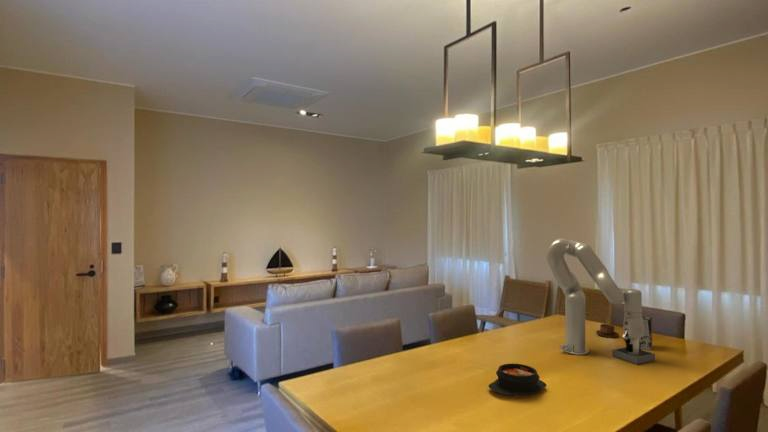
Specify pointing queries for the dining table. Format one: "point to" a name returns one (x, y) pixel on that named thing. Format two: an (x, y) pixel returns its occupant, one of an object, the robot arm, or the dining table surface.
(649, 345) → the coffee box
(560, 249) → the robot arm
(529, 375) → the casserole
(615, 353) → the bin
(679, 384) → the dining table surface
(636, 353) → the canister
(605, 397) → the dining table surface
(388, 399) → the dining table surface
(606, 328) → the cup and saucer
